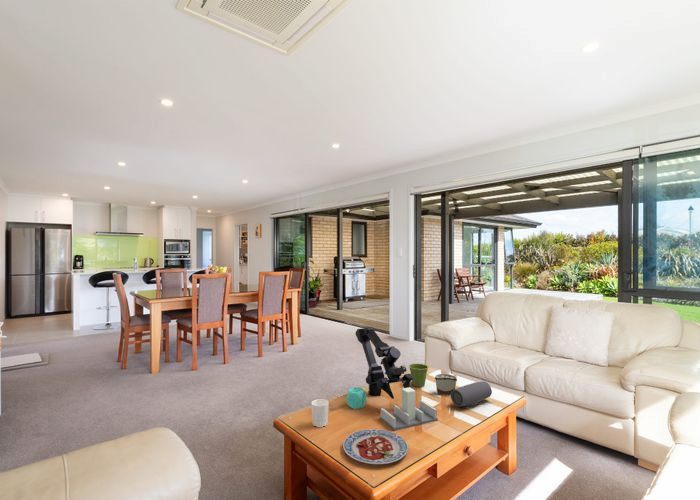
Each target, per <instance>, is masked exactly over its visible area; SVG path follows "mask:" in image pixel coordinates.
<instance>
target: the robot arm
mask: <svg viewBox="0 0 700 500" xmlns="http://www.w3.org/2000/svg"><path fill="white" fill-rule="evenodd" d="M355 336H356V339H357V341H358V342H359V343H360V344H361V346H362V349H363V351H364V355H365V358H366V362H367V365H368V370H367V376H366V378H365V383H366V384H367V385H368V396H369V397H380V396H381V395H382V391H384V392H385V393H386V394H387V396H389V397H390V398H391V399H392V400H394V399H395V397H394V394H393V392H392V388H391V384H393V383H394V384H395V383H399V382H400V383H402V387H403V388H408V387H410V384H411V383H412V379H413V376H412V374H411V373H406V372H407V371H408V370H407V367H406V365H404V364H403V365H400V366H399V367H398V366H396V364H395V363H396V362H397V361H398V360H399V359H400V357H401V355H402V354H401V351H400V350H399V349H398V348H396V347H395V346H394V345H391V346H389V344H388V343H387V342H384V341H382V339H381V337H380V336H379V335H378V334H377V332H376V331H375V328H374V327H373V326H369V327H364V328H357V329H356V331H355ZM371 343H372V344H371ZM372 345H373V346H374V348H375V349H374V351H373V347H372ZM374 352H375V353H376V356H377V357H378V358H381V360H380V365H379V364H378V362H377V360H376V357H375V354H374ZM382 365H383V368H384V370H383V368H382ZM384 371H385V372H384ZM385 376H387V377H385Z"/></svg>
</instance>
